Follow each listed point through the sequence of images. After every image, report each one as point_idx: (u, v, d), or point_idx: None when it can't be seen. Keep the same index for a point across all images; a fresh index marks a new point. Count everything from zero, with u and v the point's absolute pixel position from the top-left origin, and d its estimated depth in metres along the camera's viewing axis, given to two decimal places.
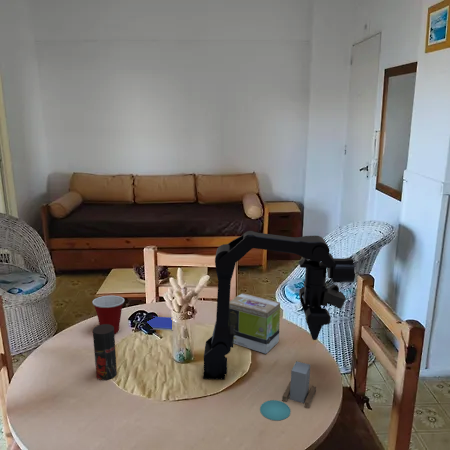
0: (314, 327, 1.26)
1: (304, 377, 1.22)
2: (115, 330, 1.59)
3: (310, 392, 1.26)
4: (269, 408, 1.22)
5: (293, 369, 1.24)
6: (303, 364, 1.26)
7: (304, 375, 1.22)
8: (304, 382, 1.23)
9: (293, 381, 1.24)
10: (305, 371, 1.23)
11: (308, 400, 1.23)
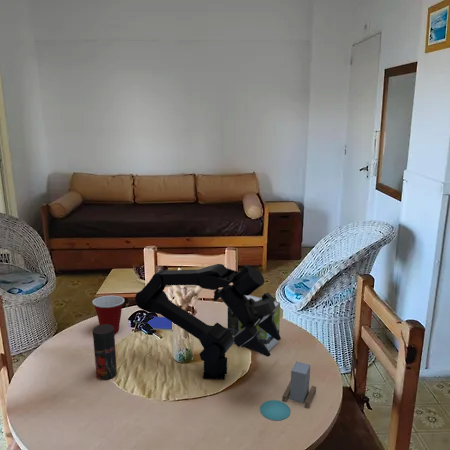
0: (255, 345, 1.22)
1: (304, 377, 1.22)
2: (115, 330, 1.59)
3: (310, 392, 1.26)
4: (269, 408, 1.22)
5: (293, 369, 1.24)
6: (303, 364, 1.26)
7: (304, 375, 1.22)
8: (304, 382, 1.23)
9: (293, 381, 1.24)
10: (305, 371, 1.23)
11: (308, 400, 1.23)
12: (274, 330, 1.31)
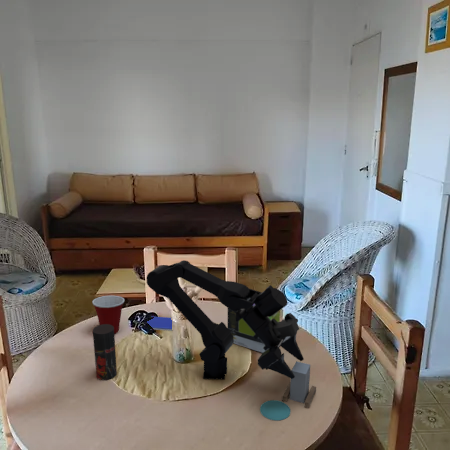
0: (279, 367, 1.21)
1: (304, 377, 1.22)
2: (115, 330, 1.59)
3: (310, 392, 1.26)
4: (269, 408, 1.22)
5: (293, 368, 1.24)
6: (303, 364, 1.26)
7: (304, 375, 1.22)
8: (304, 382, 1.23)
9: (293, 381, 1.24)
10: (305, 371, 1.23)
11: (308, 400, 1.23)
12: (297, 350, 1.29)
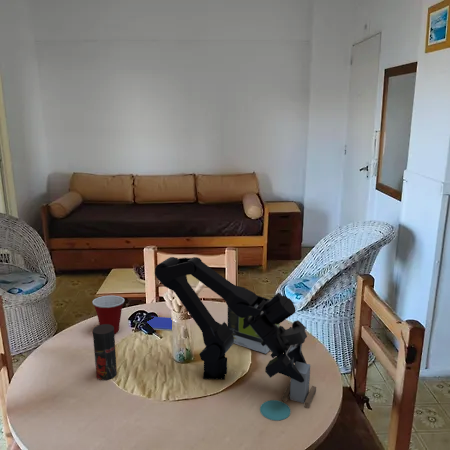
0: (289, 371, 1.22)
1: (304, 377, 1.22)
2: (115, 330, 1.59)
3: (310, 392, 1.26)
4: (269, 408, 1.22)
5: None
6: (303, 364, 1.26)
7: (304, 375, 1.22)
8: (304, 382, 1.23)
9: (293, 381, 1.24)
10: (305, 371, 1.23)
11: (308, 400, 1.23)
12: (302, 361, 1.27)
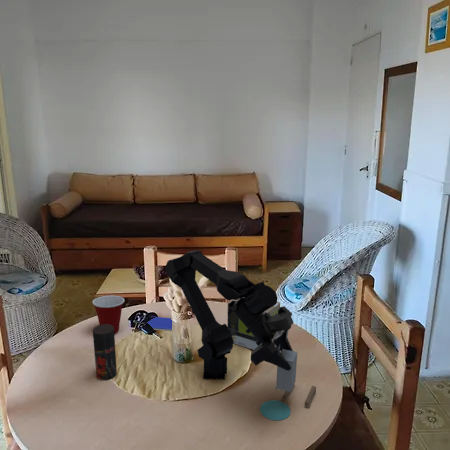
0: (275, 359, 1.17)
1: (291, 365, 1.17)
2: (115, 330, 1.59)
3: (310, 392, 1.26)
4: (269, 408, 1.22)
5: None
6: (290, 351, 1.22)
7: (291, 363, 1.17)
8: (291, 370, 1.18)
9: (279, 369, 1.19)
10: (292, 358, 1.18)
11: (308, 400, 1.23)
12: (288, 349, 1.22)
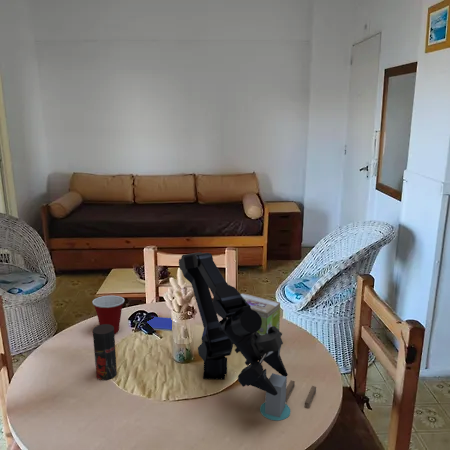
0: (262, 384, 1.14)
1: (279, 390, 1.16)
2: (115, 330, 1.59)
3: (310, 392, 1.26)
4: None
5: None
6: (279, 376, 1.20)
7: (279, 388, 1.16)
8: (279, 395, 1.17)
9: (268, 394, 1.18)
10: (280, 384, 1.17)
11: (308, 400, 1.23)
12: (280, 366, 1.23)
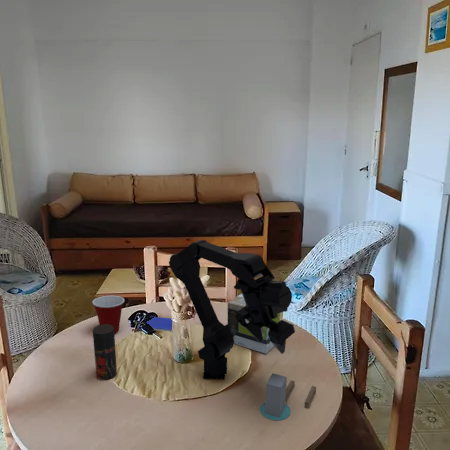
0: (280, 342, 1.21)
1: (279, 390, 1.16)
2: (115, 330, 1.59)
3: (310, 392, 1.26)
4: None
5: (268, 381, 1.18)
6: (279, 376, 1.20)
7: (279, 388, 1.16)
8: (279, 395, 1.17)
9: (268, 394, 1.18)
10: (280, 384, 1.17)
11: (308, 400, 1.23)
12: (260, 331, 1.31)
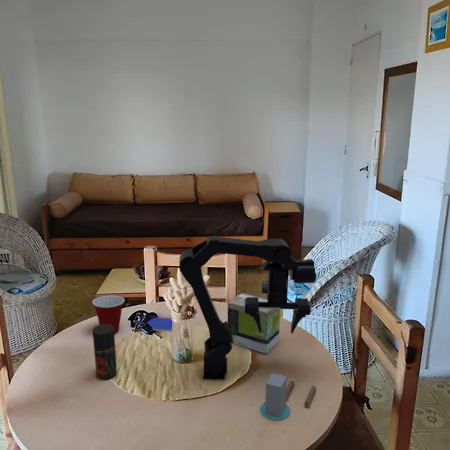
0: None
1: (279, 390, 1.16)
2: (115, 330, 1.59)
3: (310, 392, 1.26)
4: None
5: (268, 381, 1.18)
6: (279, 376, 1.20)
7: (279, 388, 1.16)
8: (279, 395, 1.17)
9: (268, 394, 1.18)
10: (280, 384, 1.17)
11: (308, 400, 1.23)
12: (260, 321, 1.35)
